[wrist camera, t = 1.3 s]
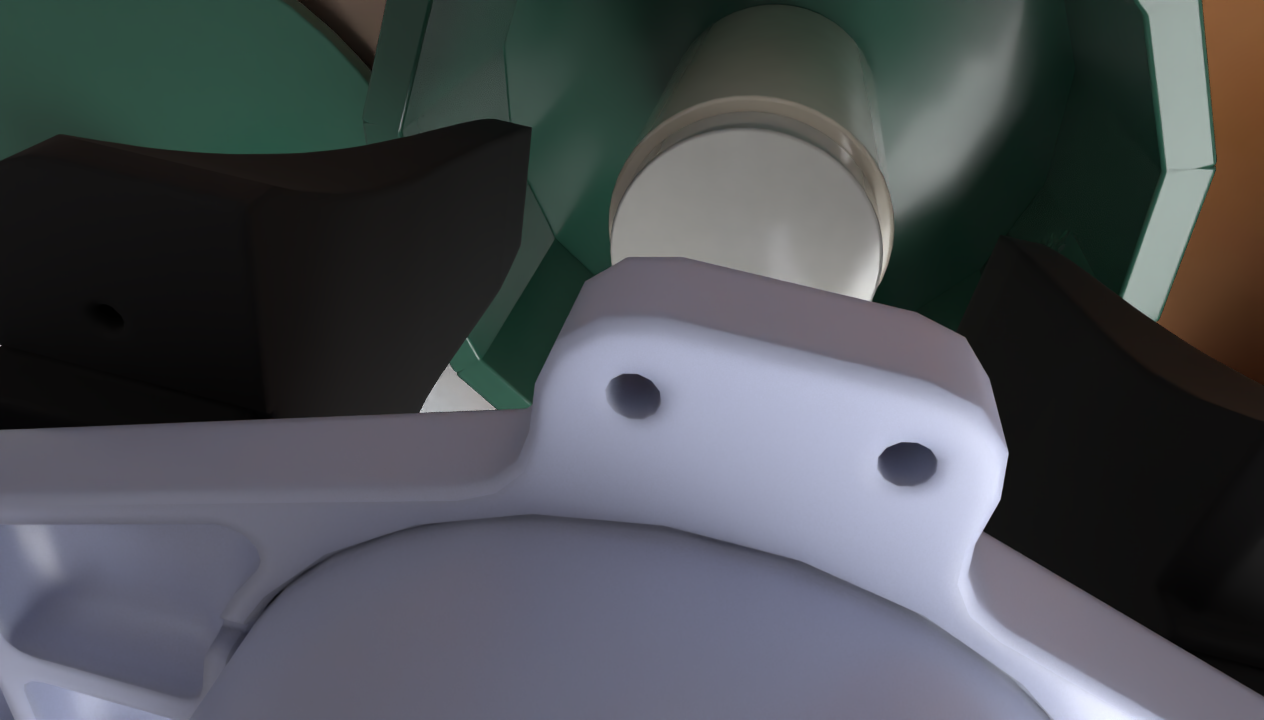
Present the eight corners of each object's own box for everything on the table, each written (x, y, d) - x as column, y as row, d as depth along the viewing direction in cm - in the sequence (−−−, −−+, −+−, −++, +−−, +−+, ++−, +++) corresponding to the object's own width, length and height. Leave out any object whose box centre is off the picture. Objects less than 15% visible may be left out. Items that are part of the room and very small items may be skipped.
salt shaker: (861, 215, 19) (874, 398, 14) (666, 202, 20) (601, 370, 14) (892, 7, 17) (922, 122, 11) (668, 0, 18) (590, 105, 12)
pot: (1016, 380, 21) (1070, 557, 17) (511, 333, 24) (427, 478, 19) (1200, -270, 14) (1395, -297, 9) (450, -254, 16) (286, -269, 11)
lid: (487, 440, 26) (413, 582, 21) (81, 393, 28) (-65, 513, 24) (419, -73, 18) (281, -23, 14) (-131, -80, 20) (-408, -40, 16)
